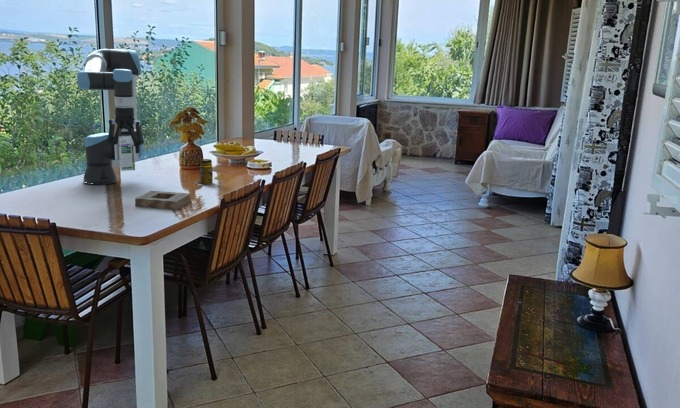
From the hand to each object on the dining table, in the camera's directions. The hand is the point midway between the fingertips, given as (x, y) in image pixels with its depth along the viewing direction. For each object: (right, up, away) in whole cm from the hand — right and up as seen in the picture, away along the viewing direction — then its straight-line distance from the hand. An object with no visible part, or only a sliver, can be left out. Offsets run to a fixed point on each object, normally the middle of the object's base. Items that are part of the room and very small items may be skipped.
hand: (126, 159), depth 256 cm
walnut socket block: (+17, -19, -2) cm, 25 cm away
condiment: (+25, -9, +39) cm, 47 cm away
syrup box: (0, -4, +1) cm, 5 cm away
